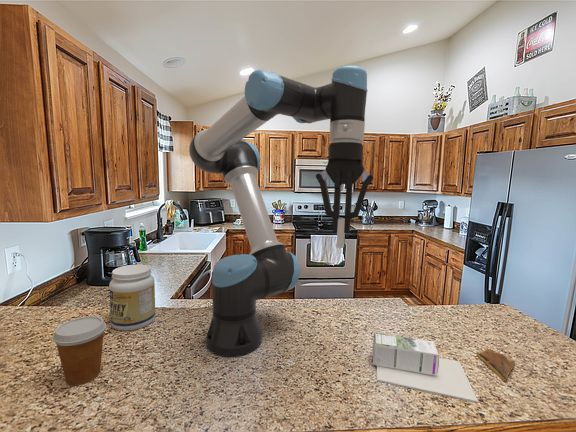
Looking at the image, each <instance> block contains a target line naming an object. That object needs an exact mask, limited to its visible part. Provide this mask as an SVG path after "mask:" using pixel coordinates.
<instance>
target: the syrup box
mask: <svg viewBox="0 0 576 432" xmlns="http://www.w3.org/2000/svg"><path fill="white" fill-rule="evenodd" d="M439 358H440V354H439V352H438V350H437V347H436V345H435V341H433V340H432V341H431V340H426V339H419V338H412V337H404V336H398V335H392V334H385V333H380V332H379V333H377V332H374V333H373V339H372V365H373V366H376V367H377V366H383V367H389V368H394V369H400V370H406V371H412V372H417V373H423V374H428V375H434V376H437V374H438V369H439Z"/></svg>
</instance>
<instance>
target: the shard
mask: <svg viewBox="0 0 576 432" xmlns="http://www.w3.org/2000/svg"><path fill="white" fill-rule="evenodd" d="M476 357H477V358H478V359H480V360H481V361H482V362H484V363H485V364H486V365H487V367H488V369H490V370H491V371H492V372H493V373H494V374H495V375H496V376H497V377H499V379H501V380H502V381H503V382H506V381H507V379H508V376H509V373H511V372H512V369H513V368H514V367H515V365H516V360H515V359H513V358H511V357H510V356H507V355H505V354H503V353H501V352H499V351H495V350H493V349H490V348H484V350H482V351H481V352H477V353H476Z"/></svg>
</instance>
